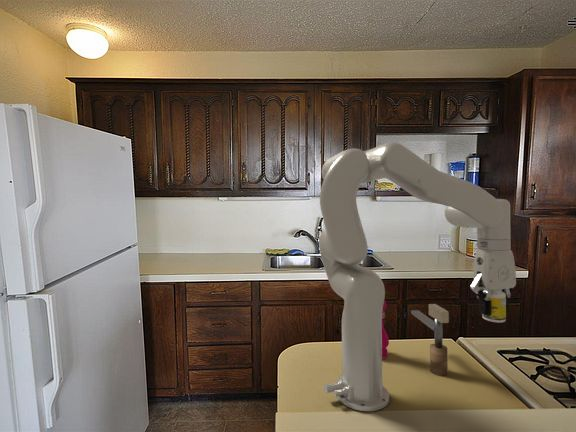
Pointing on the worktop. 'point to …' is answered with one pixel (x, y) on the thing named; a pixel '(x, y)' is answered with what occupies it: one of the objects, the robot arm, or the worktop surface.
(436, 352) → the post
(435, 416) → the worktop surface
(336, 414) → the worktop surface
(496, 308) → the supplement bottle
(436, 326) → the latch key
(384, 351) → the pepper mill
